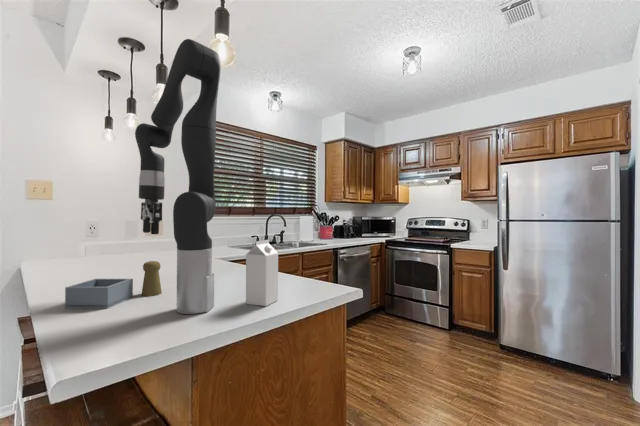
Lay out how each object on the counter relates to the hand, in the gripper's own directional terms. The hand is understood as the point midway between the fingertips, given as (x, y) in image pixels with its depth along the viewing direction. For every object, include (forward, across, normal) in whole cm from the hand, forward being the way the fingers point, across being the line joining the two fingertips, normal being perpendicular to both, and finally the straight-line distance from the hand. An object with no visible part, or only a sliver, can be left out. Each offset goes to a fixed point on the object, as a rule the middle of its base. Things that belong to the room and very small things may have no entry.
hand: (150, 233), depth 103 cm
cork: (+21, 0, -1) cm, 21 cm away
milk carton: (+20, -34, -22) cm, 45 cm away
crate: (+21, 0, +13) cm, 25 cm away
